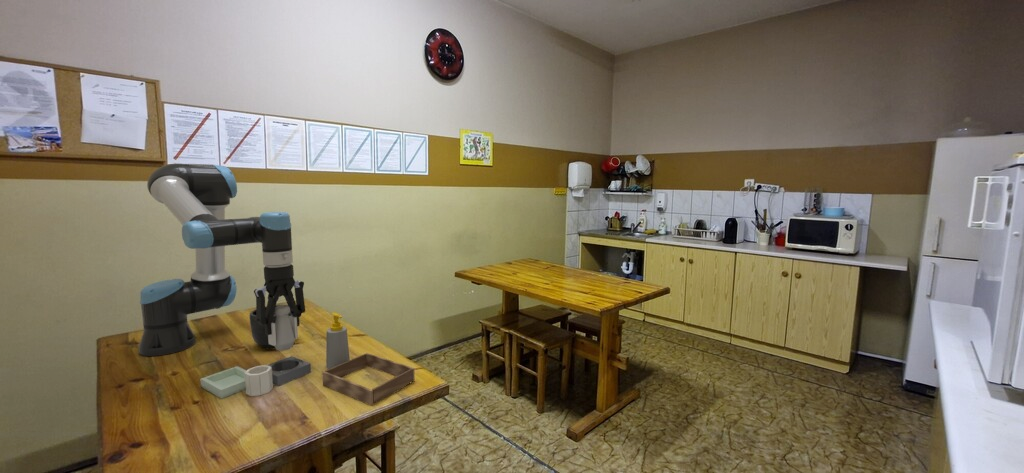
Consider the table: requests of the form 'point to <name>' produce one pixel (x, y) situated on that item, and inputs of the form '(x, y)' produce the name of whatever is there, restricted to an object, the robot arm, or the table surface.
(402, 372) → the book tray
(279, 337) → the salt shaker
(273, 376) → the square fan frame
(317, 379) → the table surface
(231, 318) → the table surface
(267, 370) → the octagonal gray cup
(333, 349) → the soap bottle
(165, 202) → the robot arm
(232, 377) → the mint green tray
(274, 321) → the planter
